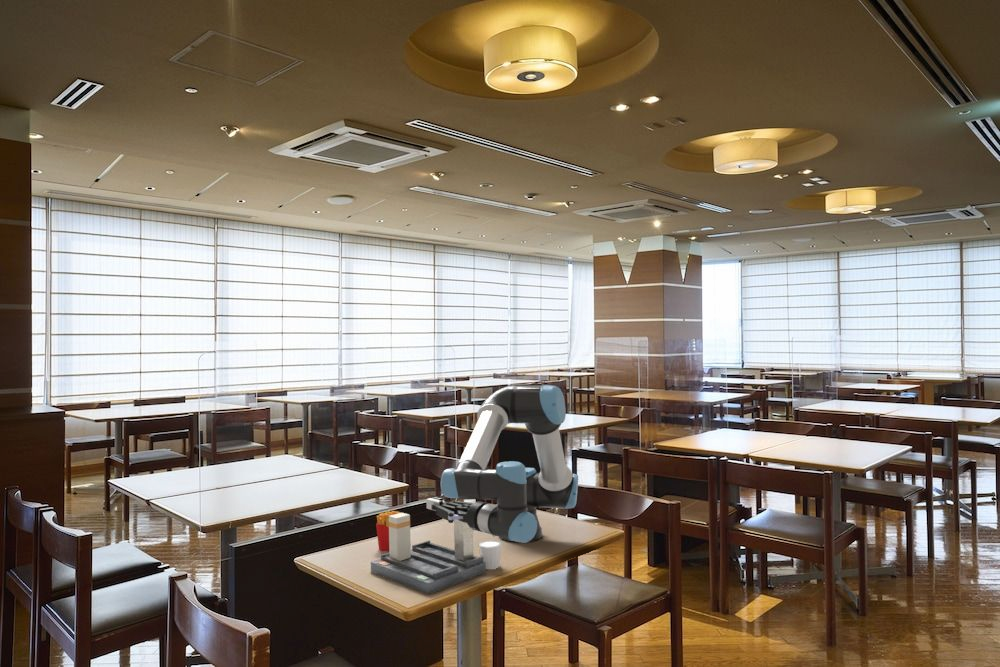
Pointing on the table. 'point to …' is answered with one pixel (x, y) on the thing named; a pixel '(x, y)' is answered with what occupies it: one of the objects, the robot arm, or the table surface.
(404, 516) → the handle
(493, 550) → the white short cylinder
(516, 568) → the table surface
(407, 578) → the breaker panel
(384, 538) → the french fries
